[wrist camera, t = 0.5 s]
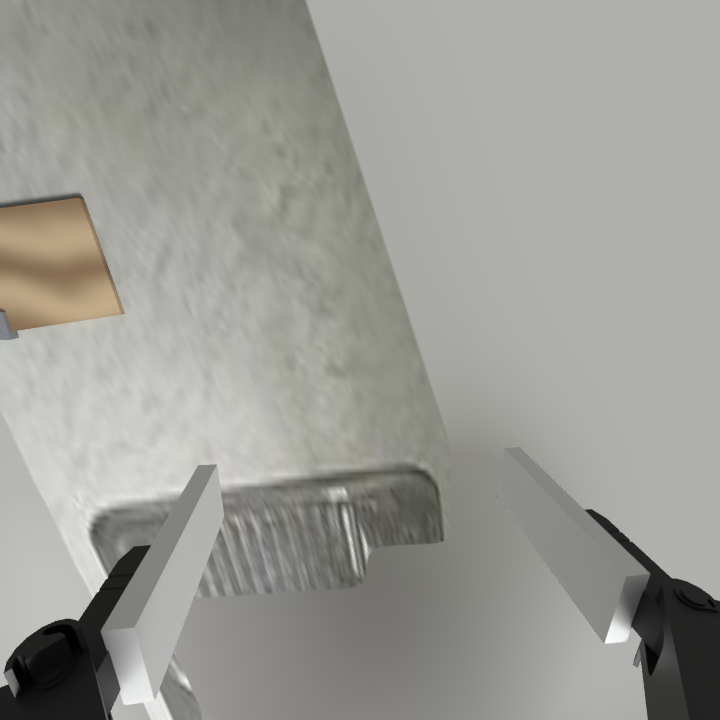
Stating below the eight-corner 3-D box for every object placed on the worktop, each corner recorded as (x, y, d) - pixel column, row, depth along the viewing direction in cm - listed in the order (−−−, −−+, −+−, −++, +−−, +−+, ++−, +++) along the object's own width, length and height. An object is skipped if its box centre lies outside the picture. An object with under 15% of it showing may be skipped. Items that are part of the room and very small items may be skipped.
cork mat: (-40, 215, 33) (-47, 214, 33) (83, 198, 34) (79, 197, 34) (13, 330, 37) (9, 331, 36) (124, 313, 38) (121, 314, 37)
